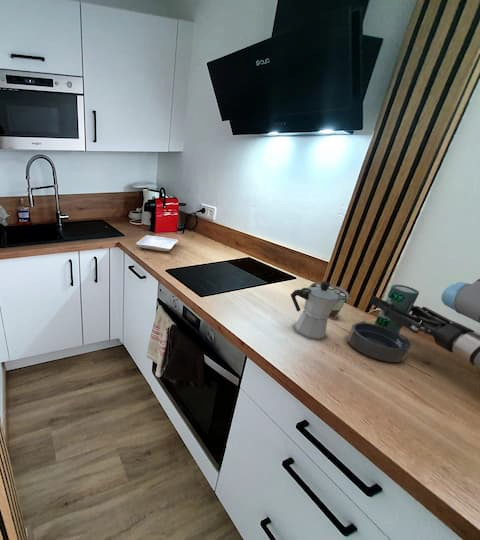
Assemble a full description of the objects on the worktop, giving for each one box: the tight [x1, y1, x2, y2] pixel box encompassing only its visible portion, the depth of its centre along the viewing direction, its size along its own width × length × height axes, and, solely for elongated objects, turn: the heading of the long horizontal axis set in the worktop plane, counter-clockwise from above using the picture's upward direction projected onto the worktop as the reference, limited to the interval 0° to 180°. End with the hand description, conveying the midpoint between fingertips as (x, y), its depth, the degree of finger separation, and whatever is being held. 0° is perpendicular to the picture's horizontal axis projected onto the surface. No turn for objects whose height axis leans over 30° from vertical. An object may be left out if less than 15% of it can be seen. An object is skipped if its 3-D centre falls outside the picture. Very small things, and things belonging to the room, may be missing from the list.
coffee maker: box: [290, 281, 345, 341], centre depth 91 cm, size 15×9×18 cm, turn 76°
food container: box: [309, 282, 350, 321], centre depth 105 cm, size 12×6×10 cm, turn 34°
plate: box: [135, 234, 180, 252], centre depth 171 cm, size 21×21×3 cm
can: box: [374, 283, 420, 334], centre depth 91 cm, size 6×6×15 cm
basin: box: [346, 322, 411, 363], centre depth 86 cm, size 13×13×5 cm
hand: (381, 299), depth 95 cm, fingers closed on can, 6 cm apart
